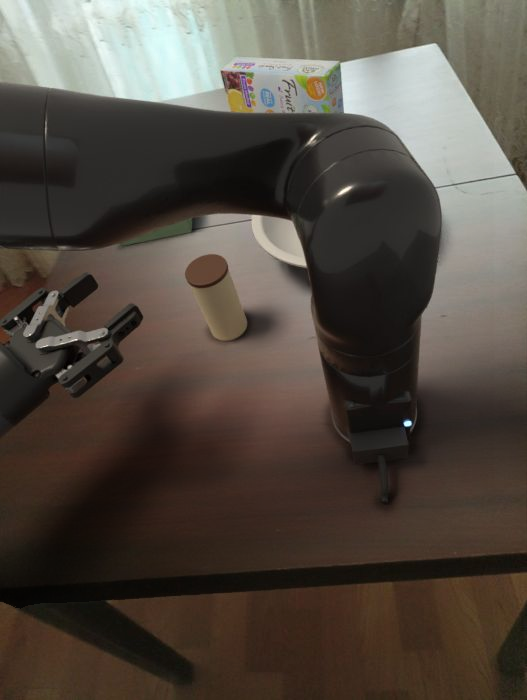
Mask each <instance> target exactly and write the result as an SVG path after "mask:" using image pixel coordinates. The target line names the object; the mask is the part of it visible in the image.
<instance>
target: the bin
mask: <svg viewBox="0 0 527 700" xmlns="http://www.w3.org/2000/svg"><path fill="white" fill-rule="evenodd" d="M192 228H193V218H190V219H187V220H184V221H181V222H178V223H175V224H172V225H170V226H167V227H164V228H162V229H159V230H157V231H154V232H151V233H149V234H146V235H143V236H141V237H138V238H135V239H132V240H129V241H126V242H123V243H120V246H122V247H124V246H128V245H134V244H140V243H143V242H149V241H154V240H159V239H164V238H169V237H173V236H179V235H185V234H189V233H192Z"/></svg>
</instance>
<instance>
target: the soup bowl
mask: <svg viewBox="0 0 527 700" xmlns="http://www.w3.org/2000/svg"><path fill="white" fill-rule="evenodd" d="M251 230H252V235H253V237H254V239H255V241H256V242H257V244H258V245H259V246H260V248H261V249H262V250H263V251H264V252H265V253H267V254H268V255H269V256H271V257H273V258H275V259H276V260H277V261H280V262H282V263H283V264H284V263H285V264H287V265H290V266H295V267H298V268H304V269H307V266H306V261H305V257H304V252H303V249H302V246H301V243H300V240H299V238H298V235H297V232H296V230H295V227H294V224H293V222H292V221H290V220H286V219H281V218H275V217H268V216H259V215H251Z"/></svg>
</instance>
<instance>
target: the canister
mask: <svg viewBox="0 0 527 700" xmlns="http://www.w3.org/2000/svg"><path fill="white" fill-rule="evenodd" d="M184 277H185V280H186V283H188V285H189V286H190V289H191V291H192V293H193V295H194V297H195V300H196V302H197V304H198V306H199V308H200V310H201V312H202V315H203V317H204V319H205V321H206V323H207V325H208V329H209V330H210V332H211V335H212V336H213V338H215V339H216V340H219V341H223V342H228V341H232V340H235V339H237V338H240V337H241V336H242V335H243V334H244V332H245V331H246V330H247V327H248V320H247V317H246V314H245V311H244V308H243V306H242V303H241V300H240V297H239V295H238V291H237V288H236V286H235V283H234V280H233V277H232V275H231V273H230V269H229V265H228V261H227V260H226V258H225V257H223V256H221V255H220V254H215V253H208V254H203V255H201V256H199V257H197V258H194V259H193V260H192V261H191V262H190V263H189V264H188V265H187V267H186V268H185V271H184Z"/></svg>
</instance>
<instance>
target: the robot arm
mask: <svg viewBox="0 0 527 700" xmlns="http://www.w3.org/2000/svg"><path fill="white" fill-rule="evenodd" d="M442 213H443V212H442V206H441V199H440V196H439V193H438V190H437V188H436V186H435V184H434V182H433V181H432V180H431V179H430V177H429V176H428V174H427V173H426V172H425V170H424V169H423V168H422V166H421V165H420V164H419V162H418V161H417V159H416V158H415V157H414V156H413V154H412V153H411V151H410V150H409V149H408V147H407V146H406V145H405V143H404V142H403V140H402V139H401V137H400V136H399V135H398V134H397V133H396V132H394V131H393V130H392V129H391V128H390V127H389V126H387V125H386V124H385V123H383V122H382V121H380V120H378V119H376V118H373V117H370V116H366V115H364V114H357V113H346V112H344V113H252V112H231V111H227V110H214V109H206V108H199V107H193V106H187V105H180V104H173V103H167V102H166V103H165V102H159V101H151V100H142V99H134V98H124V97H116V96H109V95H100V94H95V93H87V92H81V91H76V90H71V89H70V90H69V89H62V88H56V87H49V86H39V85H32V84H24V83H23V84H22V83H14V82H8V81H7V82H6V81H0V249H3V250H4V249H8V250H27V251H28V250H29V251H52V252H53V251H55V252H58V251H60V252H81V251H82V252H83V251H95V250H99V249H104V248H108V247H111V246H116V245H121V243H123V242H126V241H129V240H132V239H135V238H138V237H141V236H143V235H146V234H149V233H151V232H154V231H157V230H159V229H162V228H164V227H167V226H170V225H172V224H175V223H178V222H181V221H184V220H187V219H190V218H192V219H193V218H198V217H202V216H203V217H204V216H208V215H209V216H211V215H230V214H231V215H248V216H249V215H250V216H252V215H259V216H268V217H275V218H281V219H286V220H290V221H292V222H293V224H294V227H295V230H296V232H297V235H298V238H299V240H300V243H301V246H302V249H303V252H304V257H305V261H306V266H307V268H306V271H307V275H308V280H309V285H310V291H311V296H310V312H311V317H312V322H313V326H314V331H315V336H316V341H317V347H318V351H319V357H320V363H321V366H322V371H323V376H324V381H325V386H326V391H327V396H328V397H327V398H328V401H329V405H330V406H329V407H330V412H331V415H330V416H331V420H332V424H333V427H334V429H335V431H336V433H337V434H338V435H339V436H340V437H341V439H342V440H344V442H346V443H347V444H349V446H350V448H351V452H352V456H353V463H354V465H362V464H370V463H371V464H372V463H377V465H378V473H379V480H380V481H379V482H380V494H379V495H380V503H381V504H385V505H387V504H389V477H388V469H387V461H395V460H403V459H408V458H409V447H410V445H411V434H412V433H413V431H414V430H415V427H416V424H417V419H418V408H417V407H418V406H417V405H418V404H417V403H418V385H419V383H418V382H419V365H420V350H421V349H420V348H421V335H422V317H423V313H424V312H425V310H426V309H427V307H428V306H429V304H430V302H431V300H432V296H433V293H434V289H435V284H436V276H437V269H438V262H439V256H440V255H439V254H440V248H441V241H442V228H443V214H442ZM98 289H99V283H98V281H97V280H96V279H95V277H94V276H93V275H92V274H91V273H90V272H87V271H86V272H83V273H82V274H80V275H79V276H77V277H75V278H74V279H73V280H72V281H70V282H69V283H68V284H66V285H65V286H64V287H62V288H61V289H59V290H52V291H48V290H47V289H46V288H45V287H39V288H37V290H35V291H33V292H32V294H30V295H29V296H28V297H26V298H25V299H24V300H23V301H21V303H19V304H18V305H17V306H15V307H14V308H13V309H11V310H10V311H9V312H8V313H6V315H5V316H3V317H2V318H1V319H0V328H1V329H2V330H3V331H4V332H5V333H6V335H8V336H9V337H10V338H9V339H8V340H7V341H6V342H4V343H2V342H1V341H0V440H1V439H2V438H3V437H4V436H6V435H7V434H8V433H9V432H11V431H12V429H14V428H15V427H17V425H19V424H20V423H21V422H22V421H23V420H24V419H25V418H27V417H28V416H29V415H30V414H31V413H33V412H34V411H35V410H36V409H37V408H39V406H41V405H42V404H43V403H44V402H46V401H47V400H48V399H49V398H50V395H51V393H50V391H49V389H50V388H51V387H52V386H55V385H56V384H59V385H60V386H61V387H62V388H63V389H65V391H66V392H68V394H69V395H70V396H71V397H72V398H73V399H77V398H80V397H81V396H82V395H84V394H85V393H86V392H87V391H89V390H90V389H91V388H93V387H94V386H95V385H96V384H98V383H99V382H100V381H101V380H102V379H103V378H105V377H107V375H109V374H110V373H111V372H112V371H114V370H115V369H116V368H117V367H118V366H120V365H122V363H123V362H124V360H125V359H124V356H123V355H122V353H121V350H120V348H119V346H120V343H121V342H122V341H124V340H125V338H127V337H128V336H129V335H130V334H131V333H133V332H134V331H135V330H136V329H137V328H138V327H139V326H141V324H142V322H143V320H144V315H143V313H142V311H141V310H140V308H139V306H138V305H136V304H134V303H129V304H127V305H126V306H125V307H124V308H122V309H121V310H120V311H119V312H118V313H116V314H115V315H113V317H112V318H110V319H108V321H107V322H105V324H103V327H101V328H98V329H93V330H90V331H83V330H74V331H72V330H71V329H70V328H68V327H67V326H66V318H67V316H68V313H69V311H70V308H73V309H74V308H76V307H77V306H78V305H79V304H80V303H81V302H83V301H84V300H85V299H87V298H88V297H89V296H90V295H92V294H93V293H94V292H96V291H97V290H98ZM39 302H40V303H41V304H42V305H39V306H38V307H37V308H36V310H35V311H34V309H33V308H34V307H35V306H36V305H37V304H39ZM95 343H96V344H95ZM97 343H98V344H97ZM104 358H106V359H105V360H103V359H104ZM102 360H103V361H102ZM101 361H102V362H101ZM99 362H101V363H100V364H99V365H98V363H99Z"/></svg>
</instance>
